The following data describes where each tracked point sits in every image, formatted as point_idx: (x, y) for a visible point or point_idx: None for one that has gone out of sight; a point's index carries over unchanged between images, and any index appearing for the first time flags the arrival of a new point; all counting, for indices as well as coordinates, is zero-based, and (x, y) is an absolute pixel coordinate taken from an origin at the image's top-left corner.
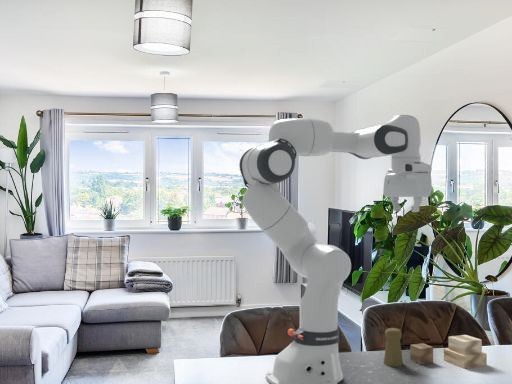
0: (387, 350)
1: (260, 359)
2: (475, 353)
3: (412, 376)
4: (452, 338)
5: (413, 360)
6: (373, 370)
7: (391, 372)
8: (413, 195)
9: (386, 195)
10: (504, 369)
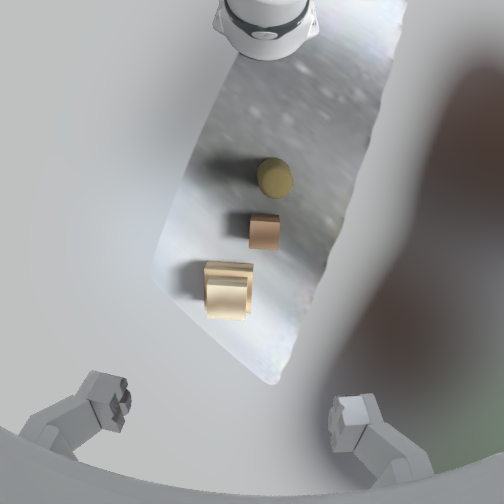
0: (273, 163)
1: (383, 4)
2: None
3: (204, 159)
4: (236, 286)
5: (269, 215)
6: (257, 120)
7: (235, 140)
8: (9, 438)
9: (486, 466)
10: (182, 306)
